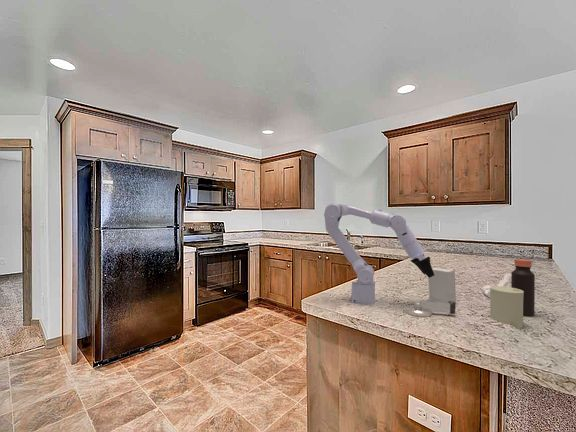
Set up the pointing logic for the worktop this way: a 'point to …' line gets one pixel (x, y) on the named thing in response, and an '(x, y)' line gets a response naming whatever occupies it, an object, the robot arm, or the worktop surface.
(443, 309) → the crank handle
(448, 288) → the skincare box
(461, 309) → the worktop surface
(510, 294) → the can
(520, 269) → the bottle
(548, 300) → the worktop surface
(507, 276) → the plastic part
